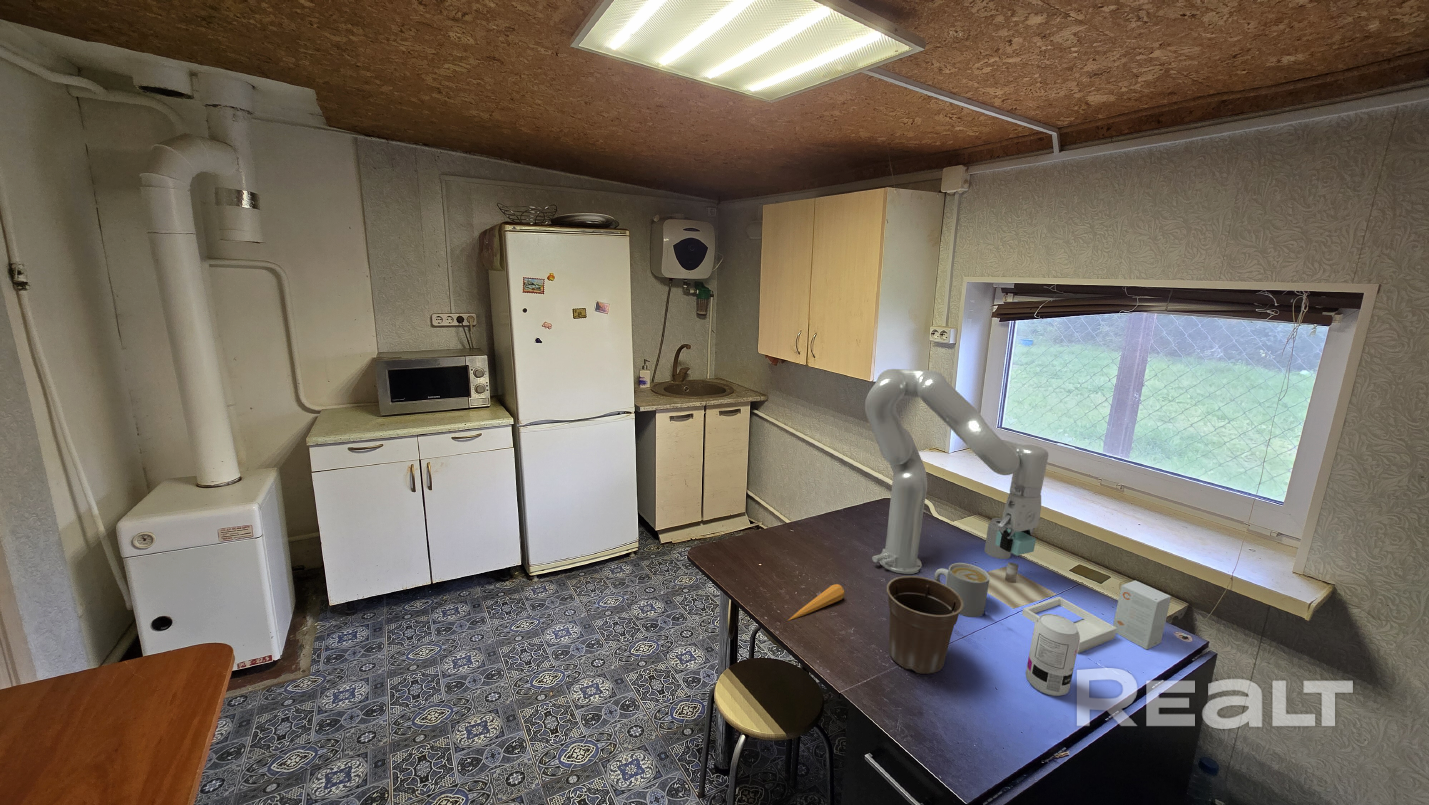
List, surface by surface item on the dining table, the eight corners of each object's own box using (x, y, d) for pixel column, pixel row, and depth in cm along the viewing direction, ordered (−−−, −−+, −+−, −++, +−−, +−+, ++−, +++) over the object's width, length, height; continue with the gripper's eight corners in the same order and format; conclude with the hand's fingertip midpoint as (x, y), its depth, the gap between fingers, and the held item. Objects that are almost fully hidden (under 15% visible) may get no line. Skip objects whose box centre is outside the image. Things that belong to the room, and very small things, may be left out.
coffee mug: (991, 609, 146) (997, 575, 144) (971, 621, 140) (977, 586, 138) (945, 585, 157) (950, 554, 154) (925, 596, 151) (929, 563, 149)
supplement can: (1017, 671, 123) (1027, 612, 119) (1051, 670, 123) (1063, 611, 120) (1040, 698, 115) (1053, 636, 111) (1077, 697, 115) (1091, 635, 112)
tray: (1077, 653, 129) (1079, 642, 129) (1021, 618, 142) (1023, 608, 141) (1114, 638, 135) (1117, 628, 135) (1057, 606, 148) (1059, 596, 148)
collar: (1016, 555, 151) (1019, 542, 151) (990, 541, 159) (992, 529, 158) (1033, 551, 154) (1036, 538, 153) (1006, 538, 162) (1009, 525, 161)
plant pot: (914, 627, 137) (922, 569, 134) (969, 668, 123) (979, 604, 120) (865, 645, 130) (871, 584, 126) (917, 690, 116) (926, 623, 112)
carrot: (837, 596, 151) (832, 581, 151) (849, 599, 147) (844, 582, 147) (784, 628, 140) (779, 611, 140) (795, 631, 136) (790, 613, 136)
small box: (1161, 643, 134) (1172, 596, 131) (1146, 650, 131) (1158, 602, 128) (1124, 624, 141) (1135, 579, 138) (1110, 630, 138) (1120, 584, 135)
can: (1004, 551, 178) (1009, 517, 175) (1014, 563, 170) (1020, 528, 168) (980, 549, 178) (985, 515, 176) (989, 561, 171) (994, 526, 168)
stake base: (1012, 612, 145) (1016, 591, 143) (963, 582, 159) (966, 562, 157) (1056, 598, 152) (1060, 578, 151) (1005, 570, 166) (1008, 551, 165)
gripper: (1016, 498, 145) (1005, 559, 149) (1058, 490, 152) (1046, 548, 156) (992, 488, 151) (981, 546, 156) (1033, 481, 159) (1022, 536, 163)
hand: (1014, 547), depth 156 cm, fingers closed on collar, 7 cm apart
